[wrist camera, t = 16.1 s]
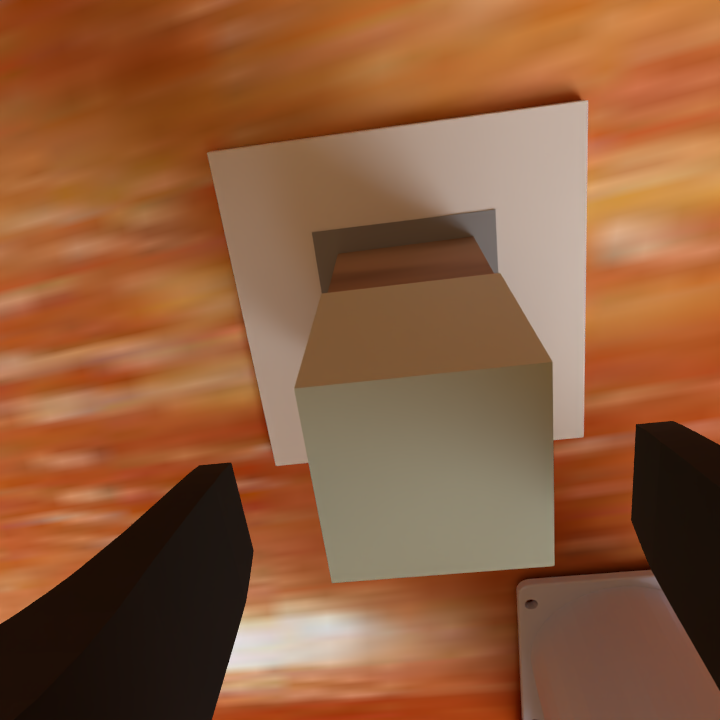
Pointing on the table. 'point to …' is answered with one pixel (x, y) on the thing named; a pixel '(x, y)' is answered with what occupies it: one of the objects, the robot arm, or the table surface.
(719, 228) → the table surface
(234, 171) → the white flat square plate
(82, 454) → the table surface
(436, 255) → the walnut block
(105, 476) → the table surface
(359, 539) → the sage block
